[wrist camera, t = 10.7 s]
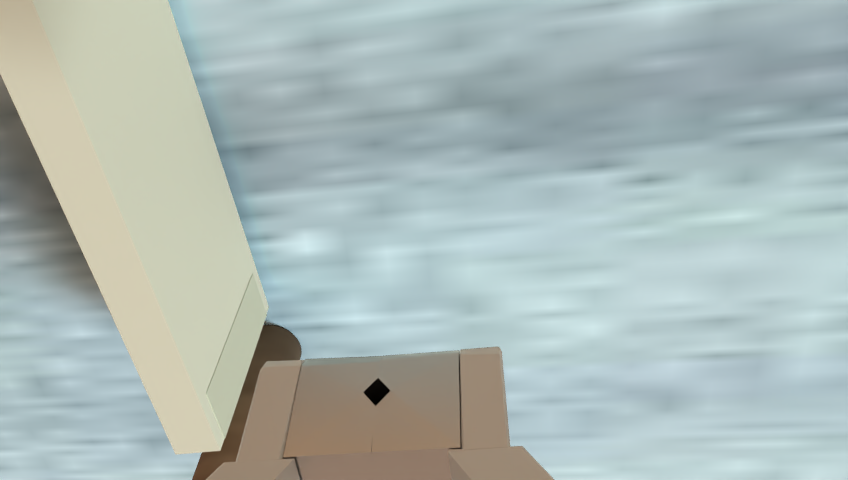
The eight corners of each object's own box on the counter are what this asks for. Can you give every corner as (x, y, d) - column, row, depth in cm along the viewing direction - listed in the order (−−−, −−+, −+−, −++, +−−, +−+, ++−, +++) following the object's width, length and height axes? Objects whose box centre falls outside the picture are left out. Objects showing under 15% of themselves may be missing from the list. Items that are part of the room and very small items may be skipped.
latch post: (197, 281, 26) (124, 432, 20) (277, 272, 26) (225, 423, 20) (233, 375, 28) (175, 535, 23) (307, 368, 28) (268, 528, 22)
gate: (0, -333, 17) (-198, -354, 12) (55, -345, 17) (-122, -371, 12) (231, 310, 26) (175, 454, 21) (269, 306, 26) (221, 450, 21)
